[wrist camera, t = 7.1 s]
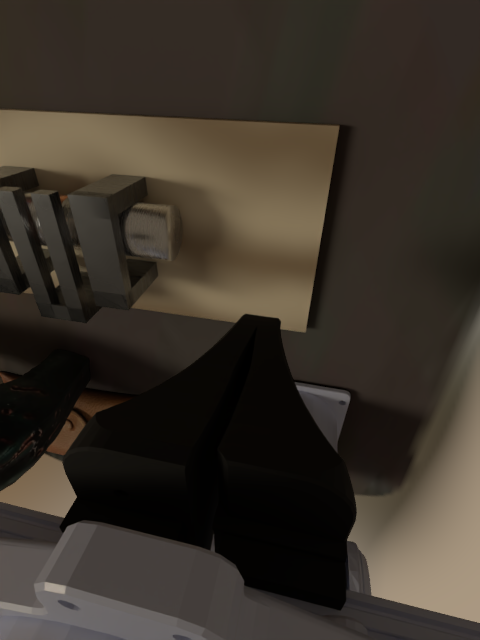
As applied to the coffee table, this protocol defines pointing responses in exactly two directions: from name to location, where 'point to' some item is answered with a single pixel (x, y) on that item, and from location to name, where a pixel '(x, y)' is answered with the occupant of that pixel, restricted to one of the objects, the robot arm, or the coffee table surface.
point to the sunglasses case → (79, 413)
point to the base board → (200, 200)
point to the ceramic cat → (37, 410)
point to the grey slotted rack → (71, 246)
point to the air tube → (129, 228)
